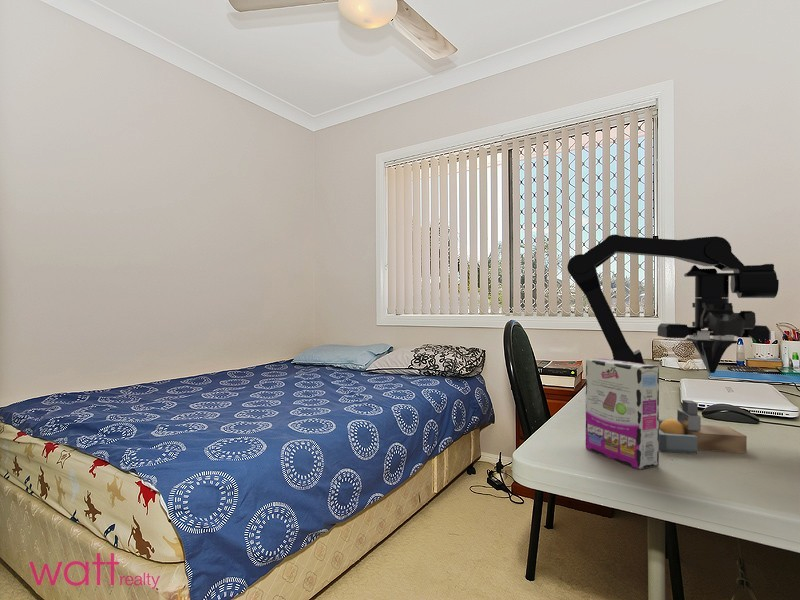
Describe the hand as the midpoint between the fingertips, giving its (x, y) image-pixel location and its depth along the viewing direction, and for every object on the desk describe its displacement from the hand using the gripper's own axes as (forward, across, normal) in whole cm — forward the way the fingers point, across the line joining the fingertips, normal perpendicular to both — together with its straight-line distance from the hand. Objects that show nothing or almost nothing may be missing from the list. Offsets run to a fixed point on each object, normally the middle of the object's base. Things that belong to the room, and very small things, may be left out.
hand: (711, 372), depth 90 cm
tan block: (+12, -5, -11) cm, 17 cm away
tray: (+12, -12, -11) cm, 20 cm away
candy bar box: (+12, -23, -21) cm, 33 cm away
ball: (+10, -11, -11) cm, 18 cm away
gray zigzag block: (+9, -9, -11) cm, 16 cm away
